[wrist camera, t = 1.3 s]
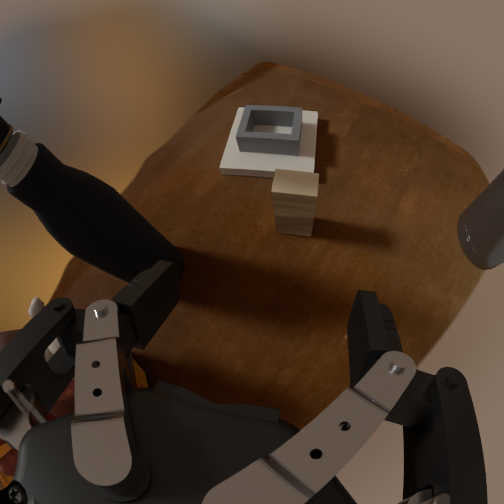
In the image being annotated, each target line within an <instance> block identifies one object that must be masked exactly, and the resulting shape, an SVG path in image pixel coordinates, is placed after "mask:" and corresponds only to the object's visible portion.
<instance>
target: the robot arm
mask: <svg viewBox="0 0 504 504" xmlns="http://www.w3.org/2000/svg"><path fill="white" fill-rule="evenodd" d="M458 234H459V239H460V243H461V245H462V248H463V250H464V252H465V253H466V255H467V257H468V258H469V259H470V260H471V261H472V262H473V263H474V264H475V265H476V266H478V267H480V268H482V269H492V268H494V267H496V266H498V265H500V264H501V263H503V262H504V169H503V170H502V171H501V172H500V174H499V175H498V176H497V177H496V178H495V179H494V180H493V181H492V182H491V184H490V185H489V186H488V187H487V188H486V189H485V190H484V191H483V192H482V193H481V194H480V195H479V196H478V197H477V198H476V199H475V200H474V201H473V202H472V203H471V204H470V205H469V206H468V207H467V208H466V209H465V210H464V211H463V212H462V214H461V216H460V218H459V222H458ZM179 297H180V288H179V279H178V269H177V265H176V263H174V262H169V261H163V260H159V261H158V262H157V263H156V264H155V265H154V266H153V267H152V268H151V269H147V270H145V271H143V272H141V273H139V274H138V275H137V276H136V277H135V278H134V279H133V281H130V282H129V283H128V285H126V286H125V287H124V288H123V289H122V290H121V291H120V292H119V293H118V294H117V295H116V296H115V297H114V298H113V299H112V300H99V301H96V302H94V303H92V304H91V305H89V306H88V307H87V309H86V310H85V309H74V307H73V304H72V302H71V300H70V299H68V298H57V299H54V300H52V301H51V302H49V303H48V304H47V305H46V306H45V307H44V308H43V309H42V310H41V311H40V312H39V313H38V314H37V315H35V316H34V317H33V318H32V319H31V320H30V321H29V322H28V323H27V324H26V325H25V326H24V327H23V328H22V329H21V330H20V331H19V332H18V333H17V334H16V335H15V336H14V337H13V338H12V339H11V341H10V342H9V343H8V344H7V345H6V346H5V347H4V348H3V349H2V350H1V351H0V438H1V439H3V440H4V441H5V442H6V443H7V444H8V445H9V446H10V447H12V448H13V449H15V450H18V459H17V465H16V470H15V473H14V477H13V479H12V481H11V483H10V484H9V485H8V486H7V487H6V488H4V489H3V490H0V504H357V503H356V502H355V501H354V499H353V498H352V497H351V495H350V494H349V493H348V492H347V490H346V489H345V488H344V486H343V485H342V484H341V482H340V481H339V480H338V478H337V477H336V474H337V473H338V472H339V471H340V470H341V469H342V468H343V467H344V466H345V465H346V464H347V463H348V462H349V461H350V459H351V458H352V457H353V456H354V455H355V454H356V453H357V452H358V451H359V449H360V448H361V447H362V446H363V445H364V444H365V443H366V441H367V440H368V439H369V438H370V437H371V435H372V434H373V433H374V431H375V430H376V429H377V428H378V427H379V425H380V424H381V423H382V422H383V420H386V421H390V422H393V423H396V424H400V425H403V438H404V486H403V501H401V502H399V503H398V504H487V484H486V473H485V465H484V457H483V450H482V444H481V438H480V433H479V428H478V423H477V419H476V415H475V410H474V406H473V402H472V399H471V395H470V392H469V388H468V384H467V381H466V379H465V377H464V375H463V374H462V373H461V372H460V371H458V370H457V369H454V368H451V367H444V368H441V369H440V370H439V371H438V372H437V374H436V375H432V374H428V373H425V372H422V371H419V370H417V369H416V365H415V363H414V361H413V360H412V359H411V358H410V357H409V356H408V355H406V354H404V353H403V350H402V346H401V342H400V338H399V335H398V331H397V330H396V325H395V323H394V318H393V315H392V312H391V311H390V310H389V309H388V308H387V306H386V305H382V304H379V302H378V298H377V295H376V292H372V291H364V290H358V292H357V294H356V298H355V301H354V304H353V308H352V311H351V315H350V318H349V322H348V329H347V335H348V349H349V366H350V386H349V387H348V388H347V389H346V390H345V391H344V392H343V393H342V394H341V395H340V396H339V397H338V398H337V399H336V400H334V401H333V402H332V403H331V404H330V405H329V406H328V407H327V408H326V409H325V410H324V411H323V412H321V413H320V414H319V415H318V416H317V417H316V418H315V419H314V420H312V421H311V422H310V423H309V424H308V425H307V426H305V427H304V428H303V429H302V430H300V429H299V428H297V427H296V426H294V425H293V424H291V423H289V422H287V421H285V420H283V419H280V418H279V414H280V409H274V408H268V407H262V406H257V405H252V404H218V403H213V402H210V401H208V400H206V399H204V398H203V397H201V396H199V395H197V394H195V393H193V392H191V391H190V390H188V389H186V388H183V387H179V386H176V385H173V384H170V383H166V382H163V381H160V380H159V381H158V383H157V385H156V386H155V388H151V387H145V388H138V387H137V382H136V376H135V371H134V365H133V359H132V354H131V350H132V348H133V347H135V348H138V349H141V350H144V349H145V347H146V346H147V344H148V343H149V342H150V340H151V339H152V338H153V336H154V335H155V333H156V332H157V331H158V329H159V328H160V327H161V325H162V324H163V322H164V321H165V320H166V318H167V317H168V316H169V314H170V313H171V312H172V310H173V309H174V308H175V306H176V305H177V303H178V301H179ZM56 338H57V340H58V342H59V344H60V348H59V349H58V350H57V351H56V352H55V353H54V355H53V356H52V357H51V358H50V359H49V361H48V362H46V360H45V351H46V349H47V348H48V347H49V346H50V344H51V343H52V342H53V341H54V340H55V339H56ZM74 376H75V412H72V413H70V414H67V415H64V416H61V417H58V418H55V419H53V420H50V421H47V417H48V416H47V415H48V414H49V412H50V411H51V409H52V408H53V406H54V405H55V403H56V402H57V400H58V399H59V397H60V396H61V395H62V393H63V392H64V390H65V389H66V388H67V386H68V385H69V383H70V382H71V381H72V379H73V378H74Z"/></svg>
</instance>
